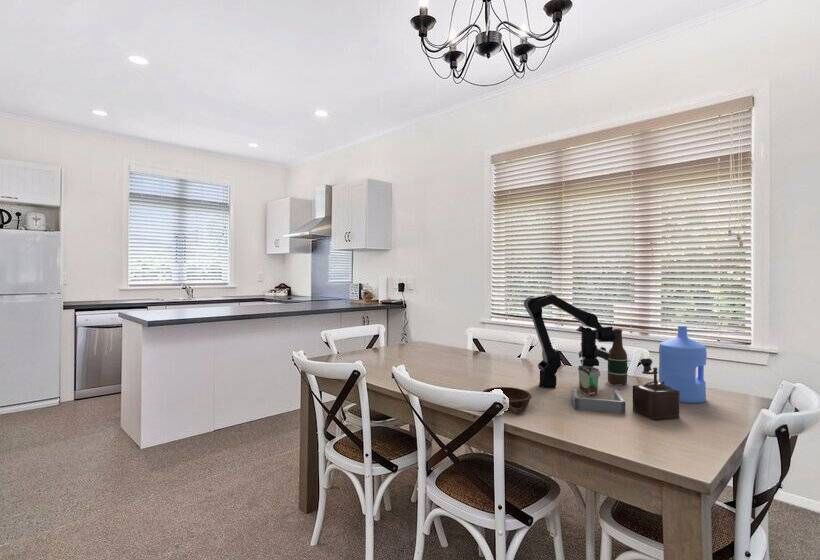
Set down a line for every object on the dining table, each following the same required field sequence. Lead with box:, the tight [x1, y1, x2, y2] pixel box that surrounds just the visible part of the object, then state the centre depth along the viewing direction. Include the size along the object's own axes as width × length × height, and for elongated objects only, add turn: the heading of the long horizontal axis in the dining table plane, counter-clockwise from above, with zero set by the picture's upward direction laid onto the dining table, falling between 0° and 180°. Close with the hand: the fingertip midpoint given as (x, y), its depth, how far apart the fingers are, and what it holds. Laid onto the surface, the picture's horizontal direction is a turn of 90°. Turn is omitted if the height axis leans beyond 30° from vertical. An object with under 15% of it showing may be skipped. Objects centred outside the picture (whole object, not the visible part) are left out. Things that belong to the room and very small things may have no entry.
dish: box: [482, 386, 533, 414], centre depth 154 cm, size 18×22×5 cm
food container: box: [577, 365, 601, 397], centre depth 170 cm, size 12×6×10 cm, turn 179°
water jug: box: [658, 325, 708, 404], centre depth 163 cm, size 16×16×28 cm
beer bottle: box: [607, 328, 628, 386], centre depth 185 cm, size 8×8×24 cm
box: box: [571, 386, 626, 414], centre depth 155 cm, size 16×15×4 cm
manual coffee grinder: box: [632, 357, 681, 422], centre depth 147 cm, size 16×11×18 cm
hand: (588, 377), depth 180 cm, fingers closed
